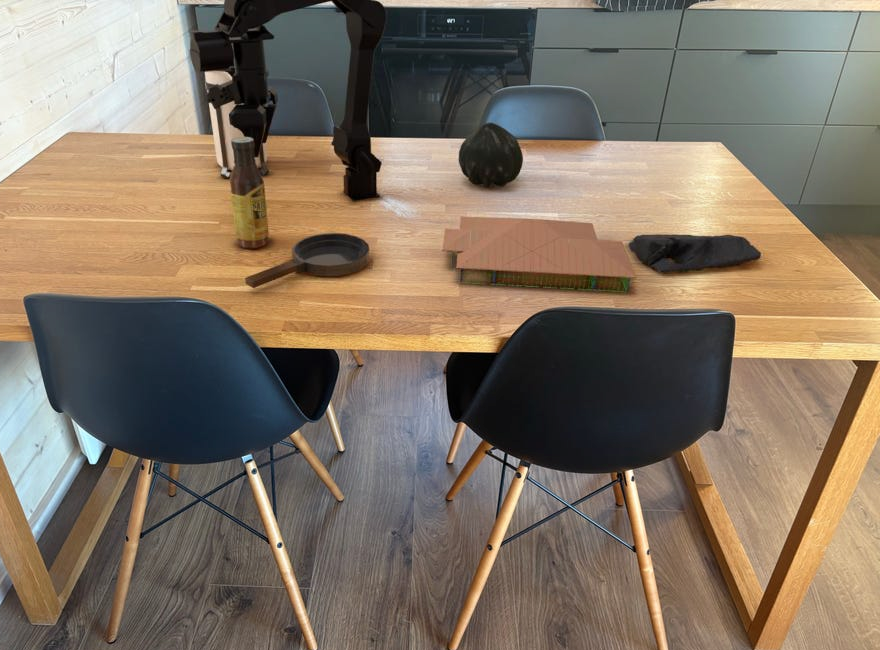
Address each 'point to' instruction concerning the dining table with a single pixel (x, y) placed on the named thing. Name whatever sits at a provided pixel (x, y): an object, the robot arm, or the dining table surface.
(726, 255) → the dark slate chunk
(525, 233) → the house
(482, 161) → the squash
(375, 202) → the dining table surface
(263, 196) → the sauce bottle
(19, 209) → the dining table surface
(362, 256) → the cast iron pan
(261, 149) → the coffee press
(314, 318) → the dining table surface
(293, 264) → the pan handle
